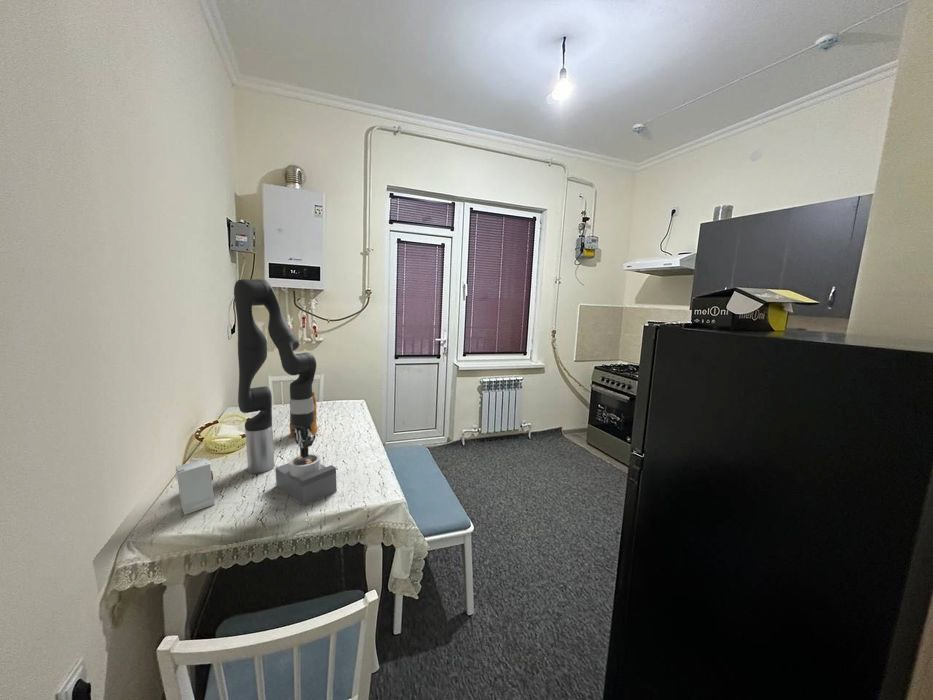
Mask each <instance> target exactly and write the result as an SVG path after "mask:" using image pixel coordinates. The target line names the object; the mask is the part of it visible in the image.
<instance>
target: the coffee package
mask: <svg viewBox="0 0 933 700" xmlns="http://www.w3.org/2000/svg"><path fill="white" fill-rule="evenodd" d="M312 394H313V402H314V422H313V423H312V424H311V429H312V431H311V433H312V435H315V436H316V434H317V432H318V424H317V414H318V413H317V403H316V397H315V396H316V395H315V391H312ZM293 428H295V426H294V425H292V424H291V416H290V415H289V433H290V438H293V439H294V435H293V433H292V429H293Z"/></svg>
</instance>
